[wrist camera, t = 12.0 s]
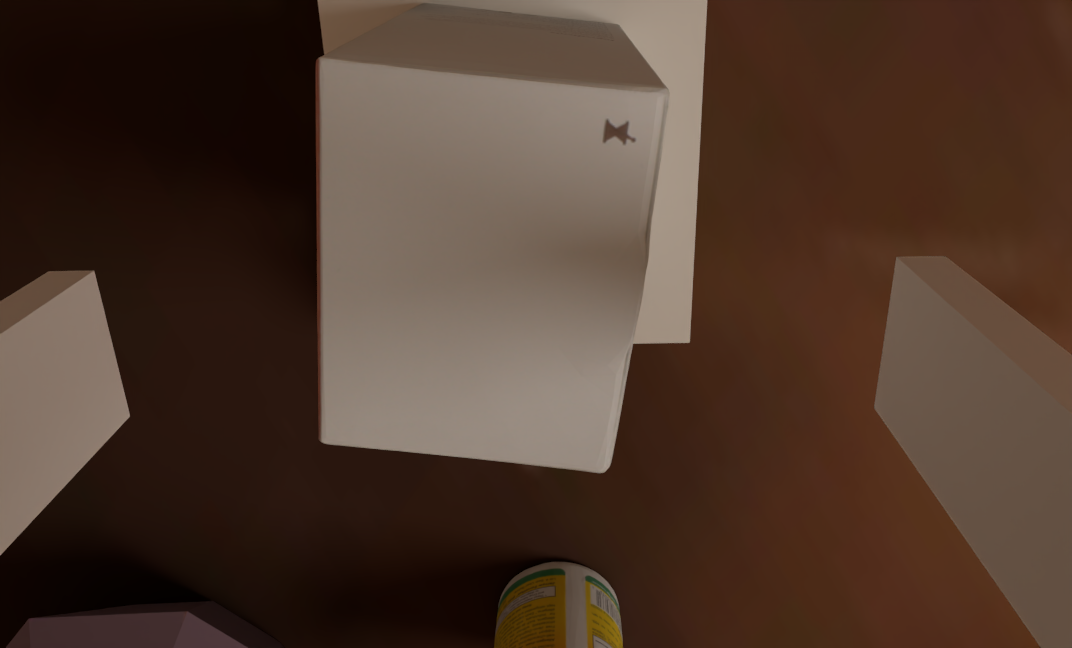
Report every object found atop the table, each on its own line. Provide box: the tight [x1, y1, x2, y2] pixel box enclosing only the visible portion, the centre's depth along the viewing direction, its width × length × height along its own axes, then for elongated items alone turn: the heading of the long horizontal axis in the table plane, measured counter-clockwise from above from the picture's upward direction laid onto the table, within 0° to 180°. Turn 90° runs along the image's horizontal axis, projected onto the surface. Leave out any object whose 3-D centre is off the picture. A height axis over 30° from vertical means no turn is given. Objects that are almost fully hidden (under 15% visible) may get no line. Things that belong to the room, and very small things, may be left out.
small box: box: [316, 3, 670, 473], centre depth 22 cm, size 8×6×13 cm
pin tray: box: [318, 0, 707, 344], centre depth 27 cm, size 12×15×6 cm
